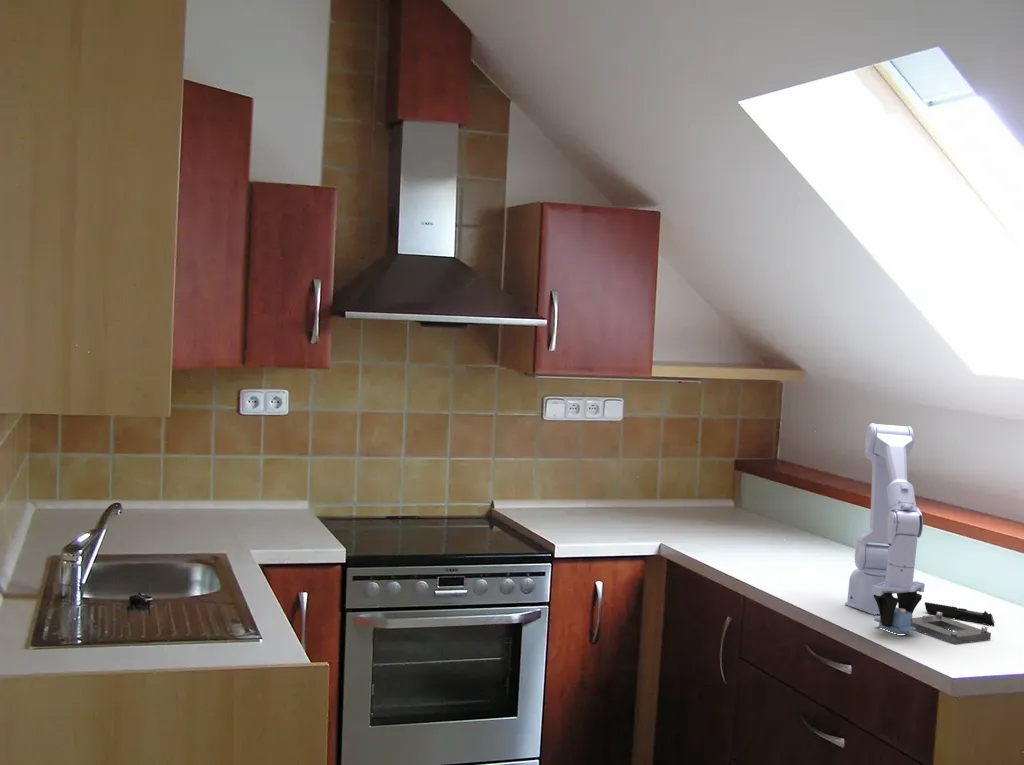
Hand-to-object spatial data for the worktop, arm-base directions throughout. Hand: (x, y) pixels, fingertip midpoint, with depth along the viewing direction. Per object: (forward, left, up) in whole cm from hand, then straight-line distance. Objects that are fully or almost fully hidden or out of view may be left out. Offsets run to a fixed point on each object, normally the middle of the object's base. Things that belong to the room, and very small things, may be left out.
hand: (894, 625), depth 246 cm
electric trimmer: (-3, +26, -2) cm, 26 cm away
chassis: (+4, +12, -1) cm, 13 cm away
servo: (0, 0, -2) cm, 2 cm away
